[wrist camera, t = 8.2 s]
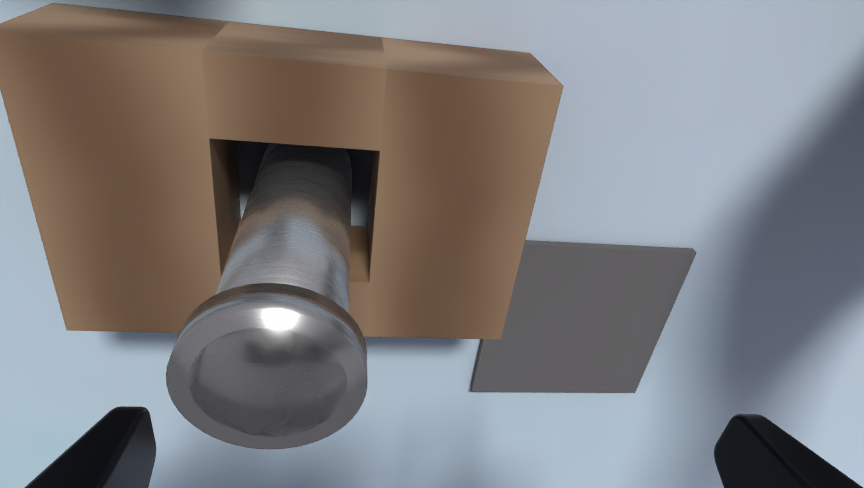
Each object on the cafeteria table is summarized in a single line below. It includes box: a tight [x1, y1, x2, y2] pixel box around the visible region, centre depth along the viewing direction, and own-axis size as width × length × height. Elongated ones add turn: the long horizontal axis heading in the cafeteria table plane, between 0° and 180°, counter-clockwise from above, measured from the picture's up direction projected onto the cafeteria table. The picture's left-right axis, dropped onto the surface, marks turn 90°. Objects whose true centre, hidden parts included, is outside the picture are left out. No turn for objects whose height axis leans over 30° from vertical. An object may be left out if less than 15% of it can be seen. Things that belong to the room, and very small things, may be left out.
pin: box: [166, 143, 367, 449], centre depth 15 cm, size 4×4×10 cm
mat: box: [471, 240, 696, 393], centre depth 25 cm, size 8×8×1 cm
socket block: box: [0, 3, 563, 339], centre depth 18 cm, size 14×9×4 cm, turn 83°
